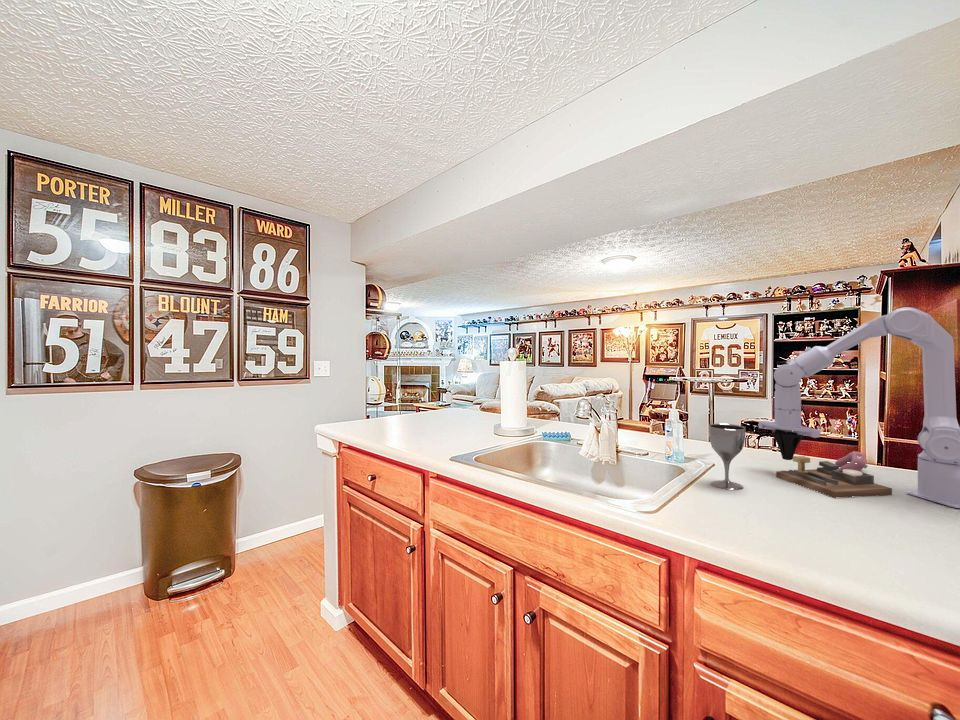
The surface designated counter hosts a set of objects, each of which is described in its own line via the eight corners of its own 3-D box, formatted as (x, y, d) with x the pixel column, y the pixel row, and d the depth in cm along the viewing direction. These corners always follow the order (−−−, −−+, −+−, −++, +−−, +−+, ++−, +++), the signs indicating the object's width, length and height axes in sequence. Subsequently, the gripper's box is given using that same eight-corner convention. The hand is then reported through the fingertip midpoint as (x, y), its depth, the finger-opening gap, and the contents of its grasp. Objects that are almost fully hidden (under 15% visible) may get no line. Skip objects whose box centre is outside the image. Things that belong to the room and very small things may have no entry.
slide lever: (810, 475, 104) (810, 458, 104) (800, 475, 104) (800, 458, 104) (802, 472, 107) (802, 455, 107) (792, 472, 106) (792, 456, 106)
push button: (866, 481, 99) (866, 473, 99) (853, 482, 98) (853, 473, 98) (851, 476, 102) (851, 468, 102) (838, 477, 102) (838, 469, 102)
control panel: (891, 494, 95) (892, 479, 95) (834, 498, 93) (834, 483, 93) (826, 474, 111) (826, 461, 111) (776, 476, 109) (776, 463, 109)
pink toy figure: (857, 482, 108) (873, 461, 106) (837, 472, 110) (852, 451, 108) (851, 473, 116) (866, 453, 114) (833, 464, 118) (847, 444, 116)
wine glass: (709, 487, 101) (709, 428, 101) (708, 478, 108) (708, 422, 108) (747, 492, 98) (747, 430, 97) (743, 482, 105) (743, 424, 104)
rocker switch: (838, 469, 106) (839, 466, 105) (830, 470, 105) (830, 466, 105) (826, 464, 109) (827, 461, 109) (818, 465, 108) (819, 461, 108)
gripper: (828, 411, 104) (827, 464, 104) (770, 405, 117) (770, 451, 118) (809, 413, 101) (809, 467, 102) (753, 406, 115) (753, 454, 115)
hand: (787, 459), depth 110 cm, fingers closed
